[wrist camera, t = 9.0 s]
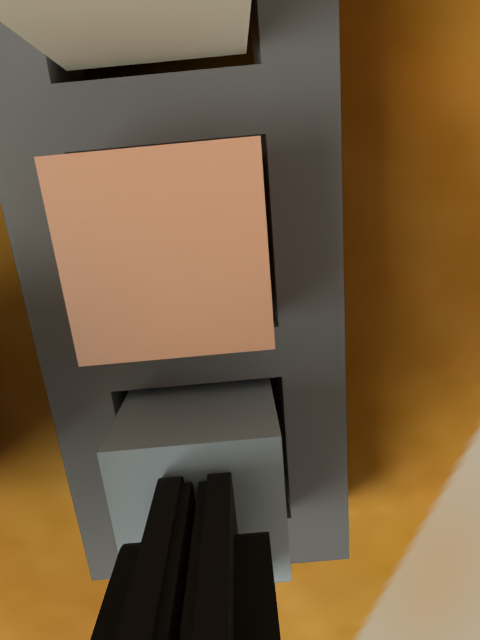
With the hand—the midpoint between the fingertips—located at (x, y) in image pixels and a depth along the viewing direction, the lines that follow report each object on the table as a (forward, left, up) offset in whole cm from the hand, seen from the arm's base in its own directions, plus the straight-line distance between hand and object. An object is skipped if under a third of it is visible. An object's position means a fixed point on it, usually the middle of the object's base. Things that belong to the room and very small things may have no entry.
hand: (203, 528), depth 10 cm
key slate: (0, 0, -5) cm, 5 cm away
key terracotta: (-6, 0, -5) cm, 8 cm away
